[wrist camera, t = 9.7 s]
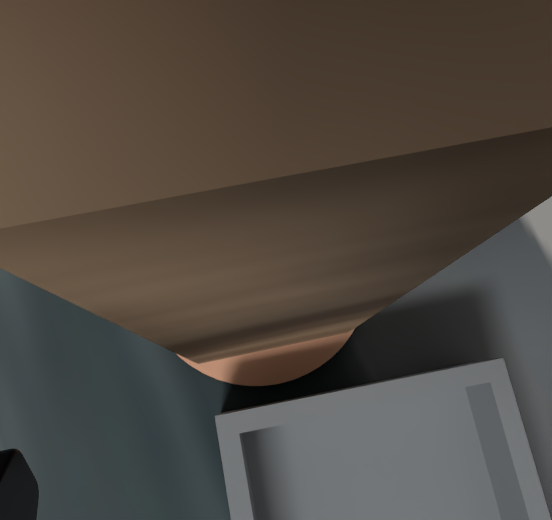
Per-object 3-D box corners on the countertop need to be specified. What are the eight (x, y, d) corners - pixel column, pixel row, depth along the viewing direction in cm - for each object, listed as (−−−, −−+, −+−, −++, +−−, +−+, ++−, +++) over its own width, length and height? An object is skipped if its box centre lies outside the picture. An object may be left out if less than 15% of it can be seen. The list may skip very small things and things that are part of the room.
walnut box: (348, 332, 17) (693, 100, 4) (198, 364, 17) (-61, 240, 3) (312, 186, 18) (468, -397, 5) (172, 212, 18) (-93, -345, 4)
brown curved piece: (286, 432, 17) (287, 434, 16) (103, 303, 18) (96, 299, 17) (403, 248, 19) (409, 242, 18) (231, 138, 20) (229, 128, 19)
